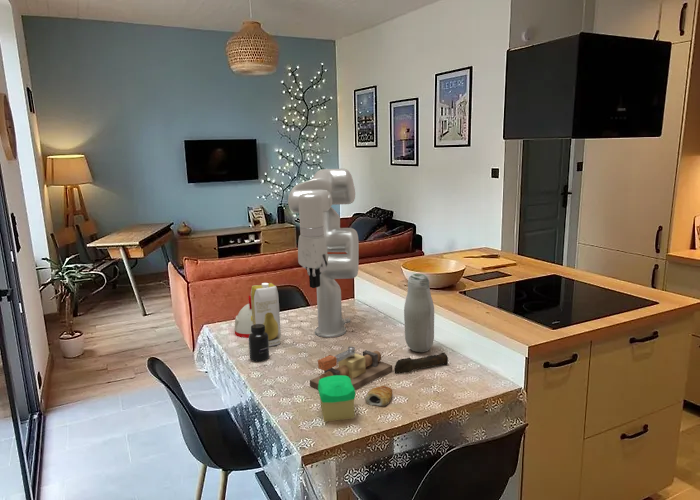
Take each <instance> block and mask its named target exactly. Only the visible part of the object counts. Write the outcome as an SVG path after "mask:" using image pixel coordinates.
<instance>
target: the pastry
mask: <svg viewBox="0 0 700 500" xmlns="http://www.w3.org/2000/svg"><path fill="white" fill-rule="evenodd" d="M392 396H393V389H392V388H391V387H389V386H386V385H380V386H377V387H372V388H371V389H370V390H368V392H367V394H366V397H365V398H364V401H365V403H366V404H368V405H371V406H378V407H384V406H387V405H389V403H391V400H392Z"/></svg>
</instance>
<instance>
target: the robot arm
mask: <svg viewBox="0 0 700 500" xmlns="http://www.w3.org/2000/svg"><path fill="white" fill-rule="evenodd" d="M287 199H288V200H287V203H288V207H289V209H290V211H291V212H293V213H295V214H299V231H300V235H299V236H298V242H297V243H298V245H297V261H298V264H299V265H300V266H301V267H302V268H303V269H305V270H306V272H307V276H309V278H308V280H309V282H308V283H309V288H312V289H315V288H316V309H317V327H315V328H314V334H315V336H318V337H320V338H321V337H322V338H337V337H341V336H343V335H345V334H346V333H347V328H346V327H345V325H346V324H348V323H349V324H350V322H351V318H350V317H347V318H346V317H345V318H343V314H342V313H343V310H342V309H343V308H342V290H341V287H340V285H339V283H338V281H336V280H337V279H338V280H341V279H342V280H344V279H346V280H347V279H355V278H357V276H358V274H359V252H360V251H359V248H360V247H359V246H360V245H359V235H358V231H357V230H356V229H354V228H352V227H341V217H340V215H339V213H338V212H337V211H336V210H335V209H334V207H332V206H333V205H334V206H336V205H351V204H353V203H354V202H355V200H356V188H355V184H354V180H353V175H352V174H351V172H350V171H349V170H348V169H346V168H324V169H320V170H317V171H316V172H315V173H314V175H313V177H312V178H311V179H309V180H306V181H304V182H300V183H297V184H296V185H294V186H293V187H292V189H291V190H290V192H289V195H288V198H287Z"/></svg>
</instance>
